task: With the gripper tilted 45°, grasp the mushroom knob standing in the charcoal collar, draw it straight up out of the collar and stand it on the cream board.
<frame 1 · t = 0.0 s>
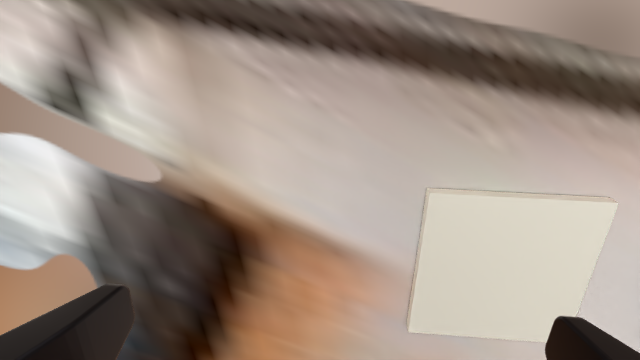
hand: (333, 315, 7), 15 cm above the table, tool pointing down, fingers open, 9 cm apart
cream board: (497, 267, 23), on the table
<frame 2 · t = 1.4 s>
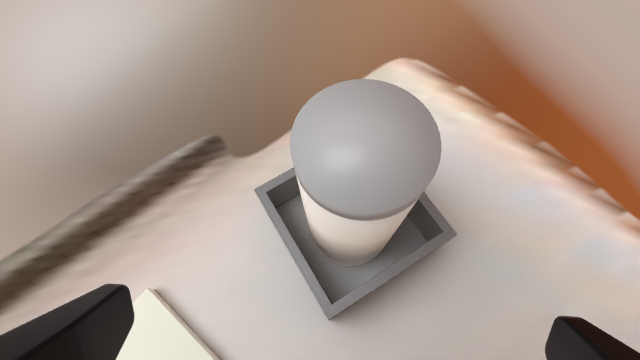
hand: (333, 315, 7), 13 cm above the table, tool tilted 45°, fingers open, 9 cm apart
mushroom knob: (354, 195, 17), in the collar
collar: (349, 225, 22), on the table
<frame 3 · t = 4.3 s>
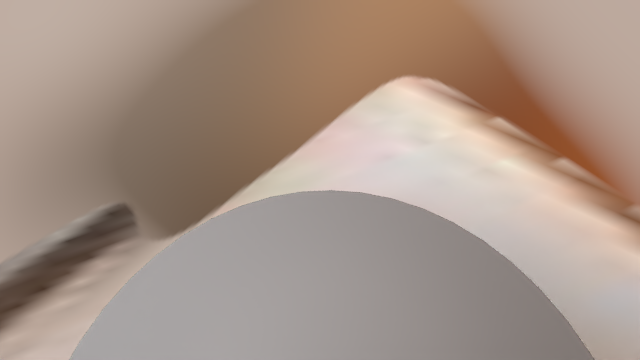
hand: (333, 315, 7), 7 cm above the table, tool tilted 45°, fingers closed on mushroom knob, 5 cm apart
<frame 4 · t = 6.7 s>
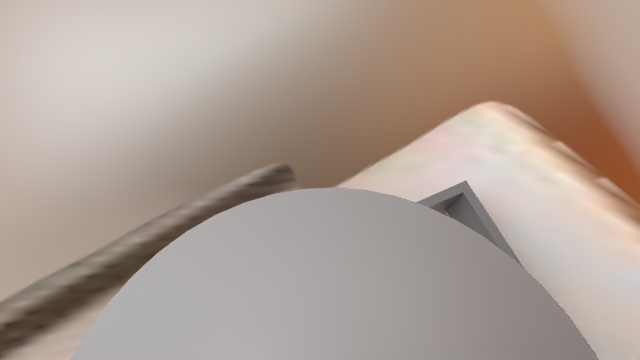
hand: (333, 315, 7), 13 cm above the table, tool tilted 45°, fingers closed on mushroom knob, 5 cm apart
collar: (425, 287, 20), on the table
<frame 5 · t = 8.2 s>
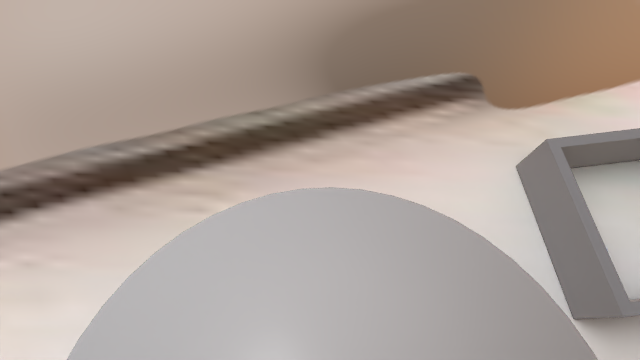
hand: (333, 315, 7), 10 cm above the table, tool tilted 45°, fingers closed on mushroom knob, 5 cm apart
collar: (618, 226, 18), on the table
when the fingers open (9 cm above the table, at t = 9.2 s): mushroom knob drops 1 cm, resting on cream board.
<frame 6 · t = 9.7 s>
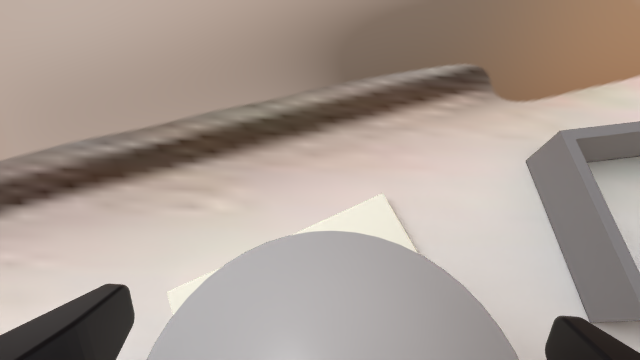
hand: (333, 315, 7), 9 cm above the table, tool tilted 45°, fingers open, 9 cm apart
collar: (635, 223, 17), on the table
cream board: (330, 358, 15), on the table
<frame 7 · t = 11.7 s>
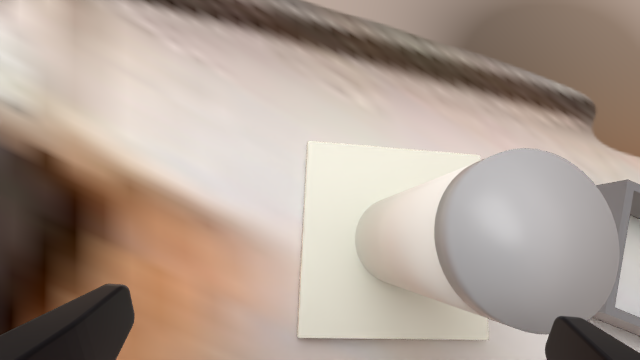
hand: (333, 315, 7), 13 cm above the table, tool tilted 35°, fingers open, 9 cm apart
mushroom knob: (441, 239, 15), on the cream board, point 6 cm above the table
collar: (625, 265, 23), on the table
cream board: (392, 238, 21), on the table
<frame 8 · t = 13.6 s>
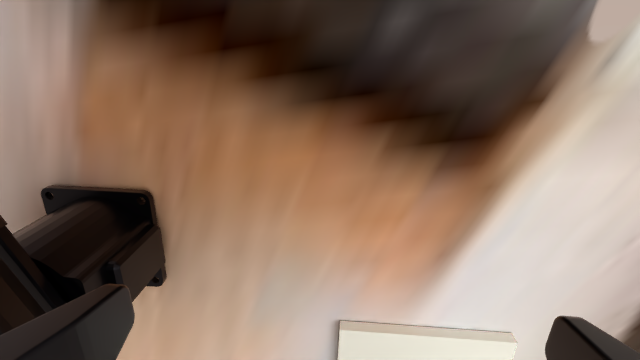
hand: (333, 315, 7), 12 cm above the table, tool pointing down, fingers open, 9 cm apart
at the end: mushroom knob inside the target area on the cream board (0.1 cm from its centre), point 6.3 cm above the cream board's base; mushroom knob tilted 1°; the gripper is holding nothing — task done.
